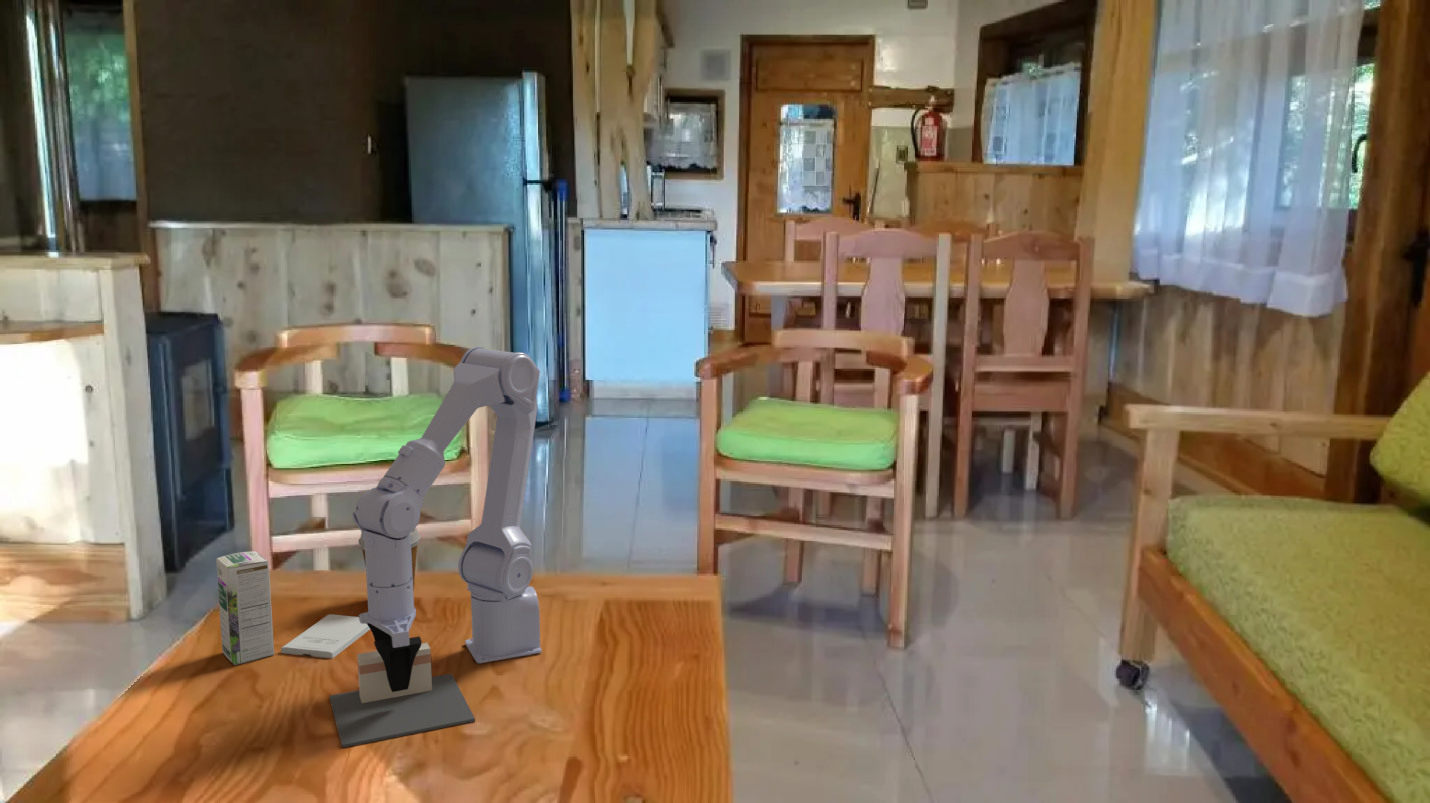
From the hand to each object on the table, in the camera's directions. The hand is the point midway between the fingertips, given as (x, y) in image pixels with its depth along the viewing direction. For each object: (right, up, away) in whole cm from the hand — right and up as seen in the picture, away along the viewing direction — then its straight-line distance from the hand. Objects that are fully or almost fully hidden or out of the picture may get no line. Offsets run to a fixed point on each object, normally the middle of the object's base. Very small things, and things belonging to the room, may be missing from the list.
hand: (394, 677), depth 142 cm
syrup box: (-25, 0, +13) cm, 28 cm away
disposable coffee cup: (-10, +4, +33) cm, 34 cm away
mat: (+2, -3, -3) cm, 5 cm away
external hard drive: (-15, 0, +19) cm, 24 cm away
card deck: (0, -2, 0) cm, 2 cm away
